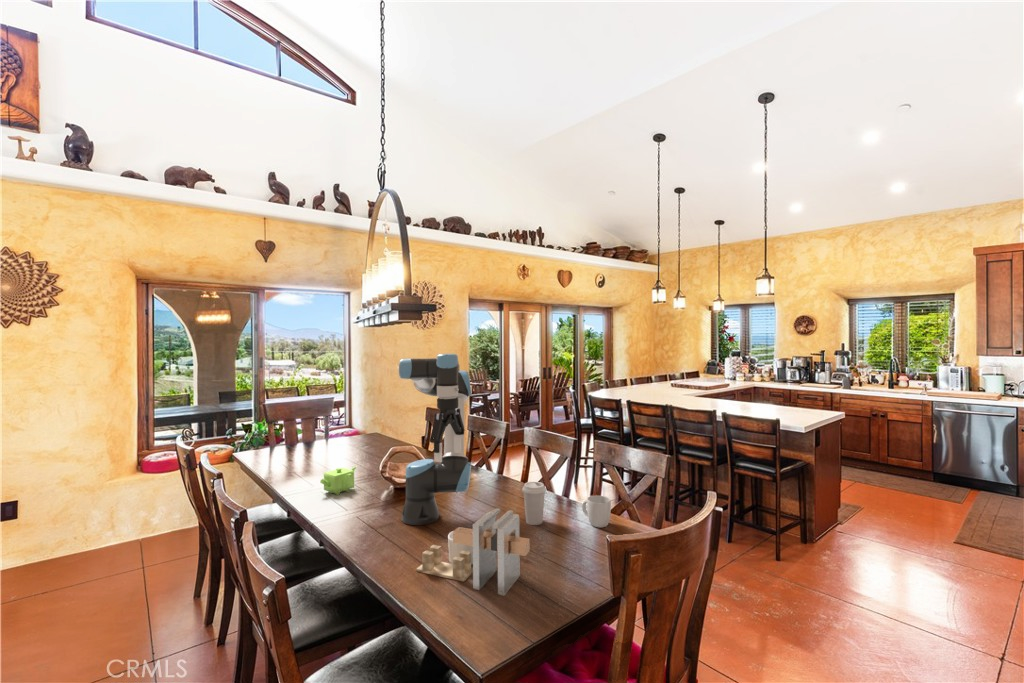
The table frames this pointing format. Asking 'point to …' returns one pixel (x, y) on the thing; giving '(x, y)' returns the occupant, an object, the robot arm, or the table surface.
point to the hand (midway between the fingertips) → (448, 457)
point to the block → (492, 541)
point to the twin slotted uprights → (487, 558)
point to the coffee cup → (534, 502)
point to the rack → (446, 564)
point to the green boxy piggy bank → (338, 480)
